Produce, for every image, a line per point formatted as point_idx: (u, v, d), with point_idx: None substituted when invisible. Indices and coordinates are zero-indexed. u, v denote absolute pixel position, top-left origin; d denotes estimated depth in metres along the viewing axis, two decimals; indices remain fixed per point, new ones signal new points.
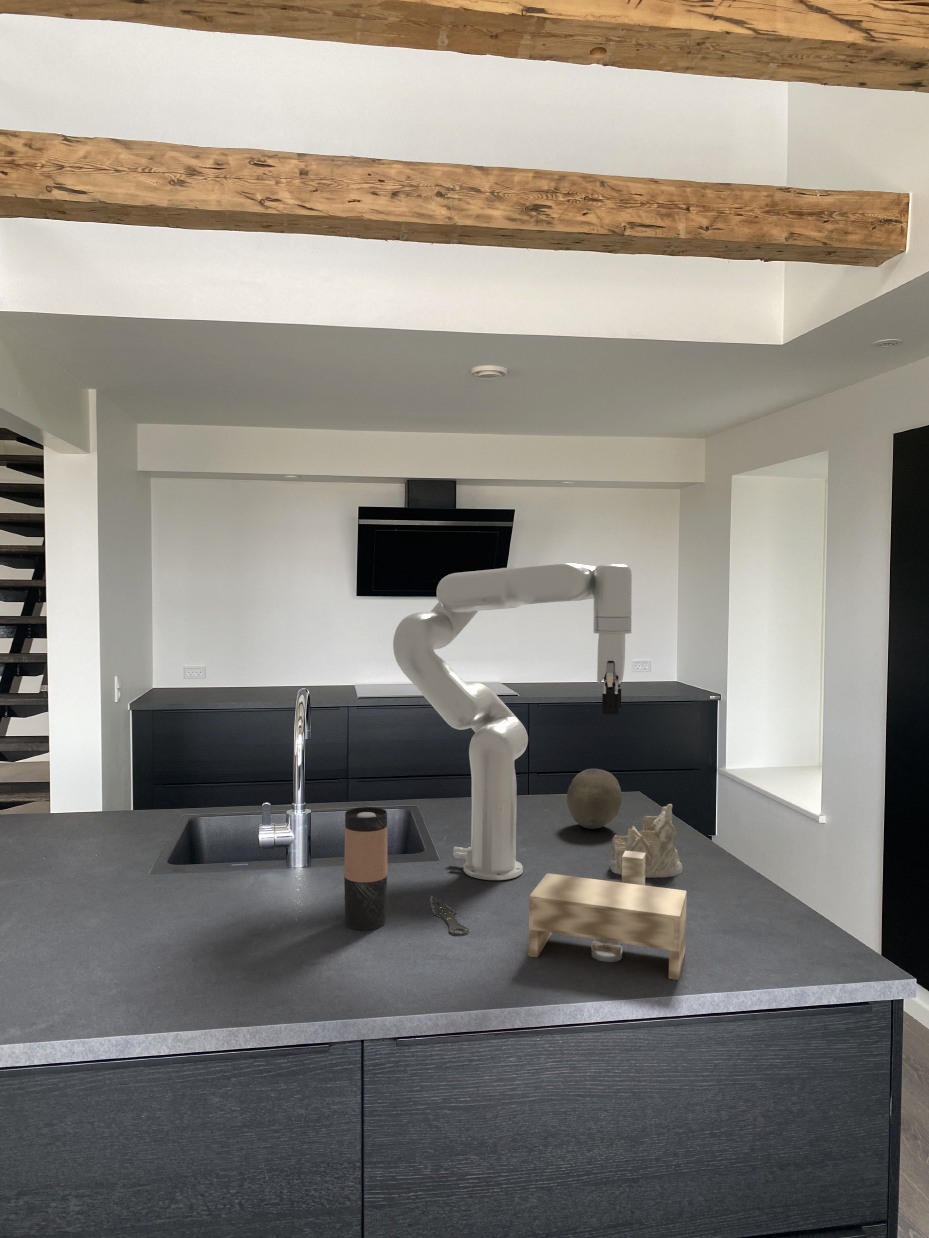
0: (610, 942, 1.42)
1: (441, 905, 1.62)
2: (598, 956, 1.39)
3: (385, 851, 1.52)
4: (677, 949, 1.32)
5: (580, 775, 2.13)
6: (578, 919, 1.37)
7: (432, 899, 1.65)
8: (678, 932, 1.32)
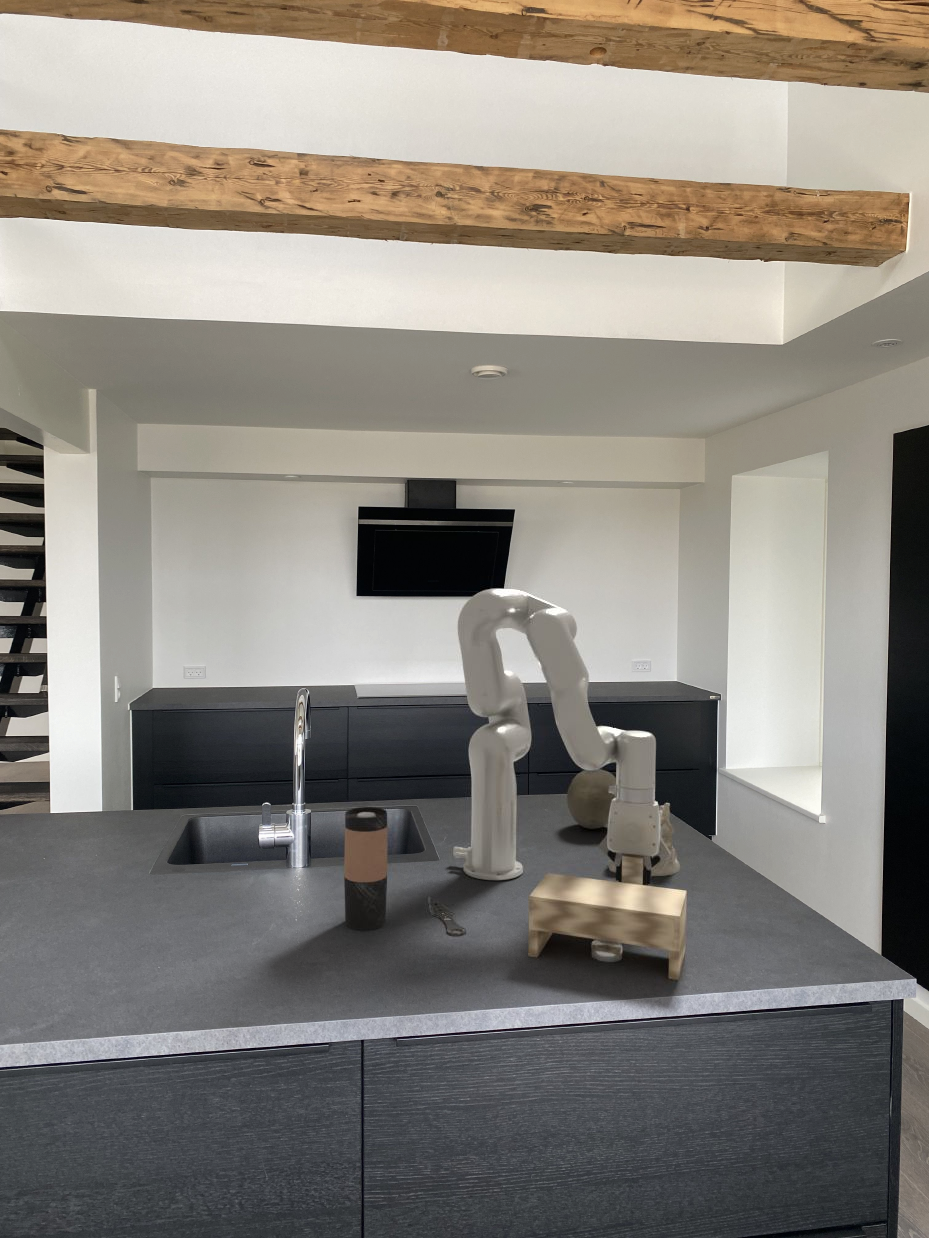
0: (610, 942, 1.42)
1: (439, 905, 1.62)
2: (598, 956, 1.39)
3: (385, 851, 1.52)
4: (677, 949, 1.32)
5: (580, 775, 2.13)
6: (578, 919, 1.37)
7: (430, 899, 1.65)
8: (678, 932, 1.32)
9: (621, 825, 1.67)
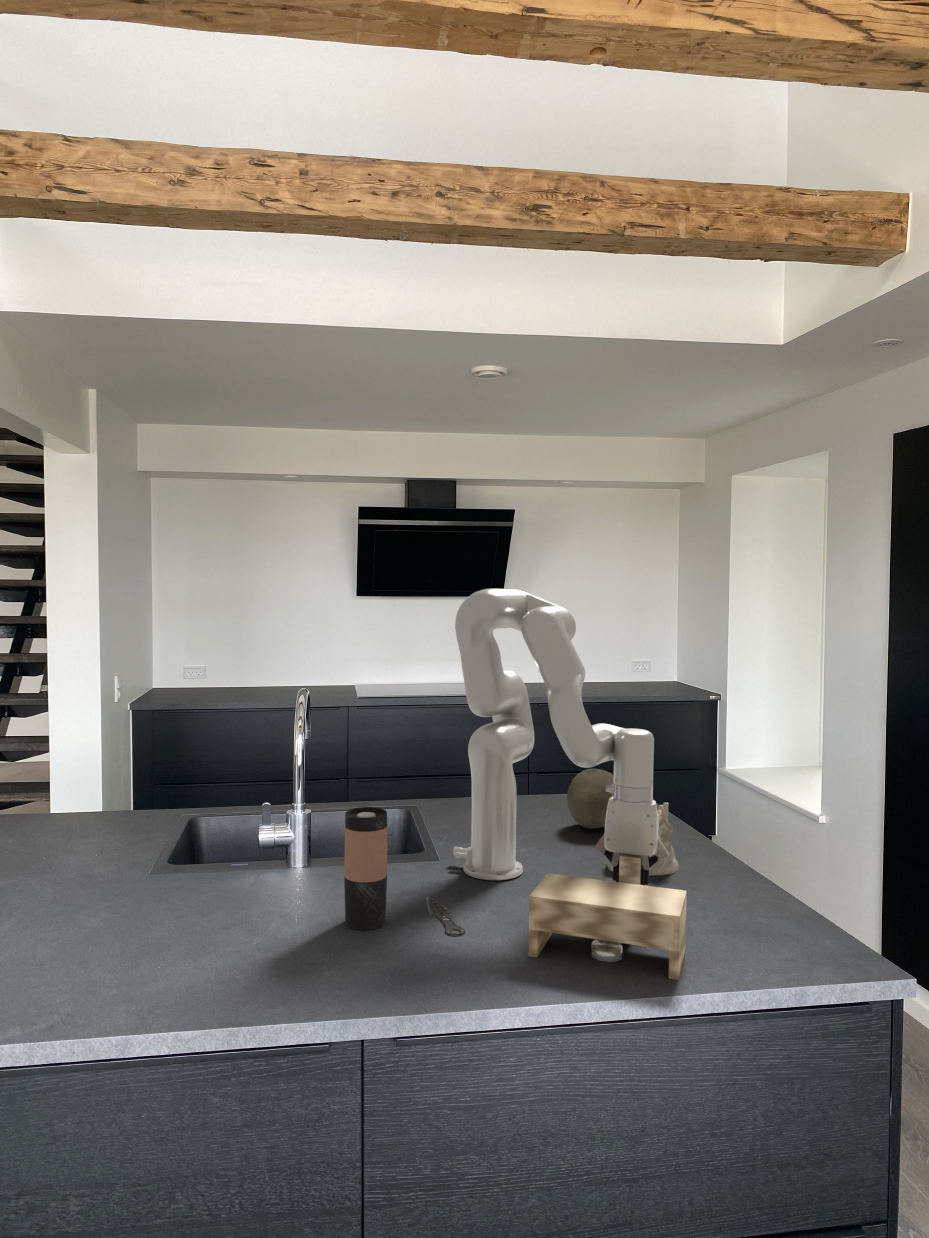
0: (610, 942, 1.42)
1: (437, 906, 1.62)
2: (598, 956, 1.39)
3: (385, 851, 1.52)
4: (677, 949, 1.32)
5: (580, 775, 2.13)
6: (578, 919, 1.37)
7: (428, 900, 1.65)
8: (678, 932, 1.32)
9: (618, 824, 1.64)
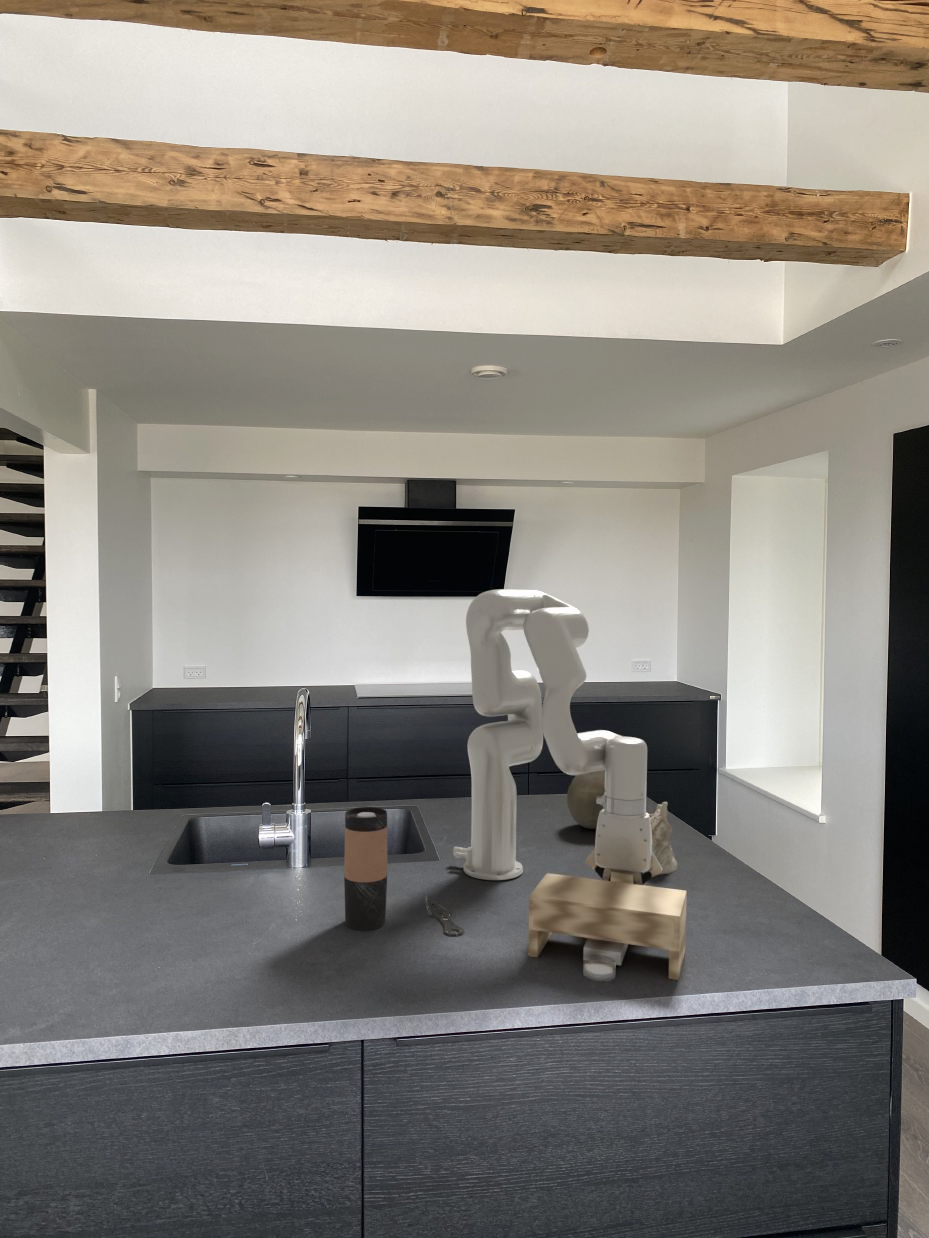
0: (603, 959, 1.35)
1: (436, 906, 1.62)
2: (590, 974, 1.32)
3: (385, 851, 1.52)
4: (677, 949, 1.32)
5: (580, 775, 2.13)
6: (578, 919, 1.37)
7: (427, 900, 1.65)
8: (678, 932, 1.32)
9: (610, 839, 1.55)
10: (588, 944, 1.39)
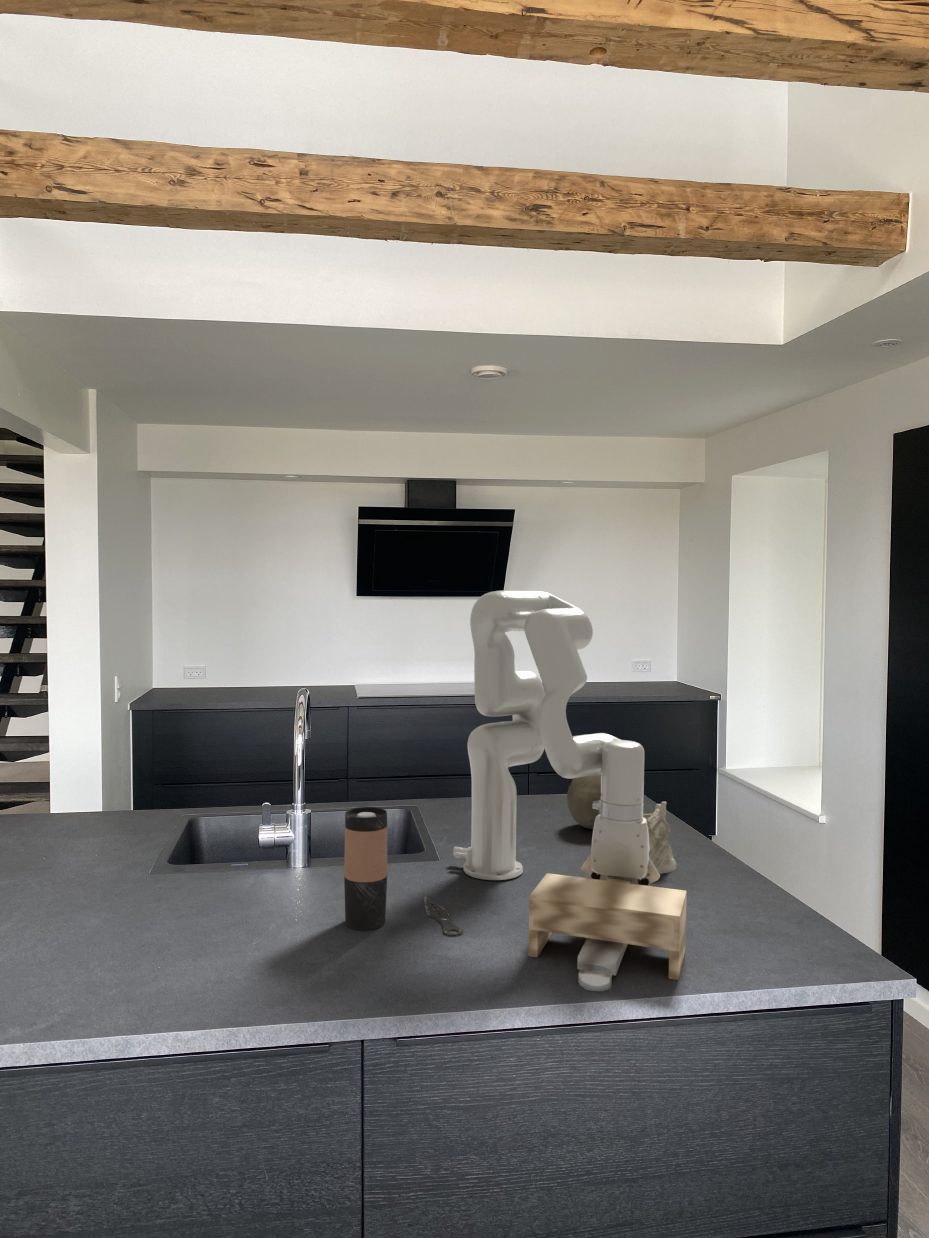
0: (598, 969, 1.32)
1: (435, 906, 1.61)
2: (586, 985, 1.29)
3: (385, 851, 1.52)
4: (677, 949, 1.32)
5: None
6: (578, 919, 1.37)
7: (426, 900, 1.64)
8: (678, 932, 1.32)
9: (606, 844, 1.52)
10: (582, 953, 1.35)
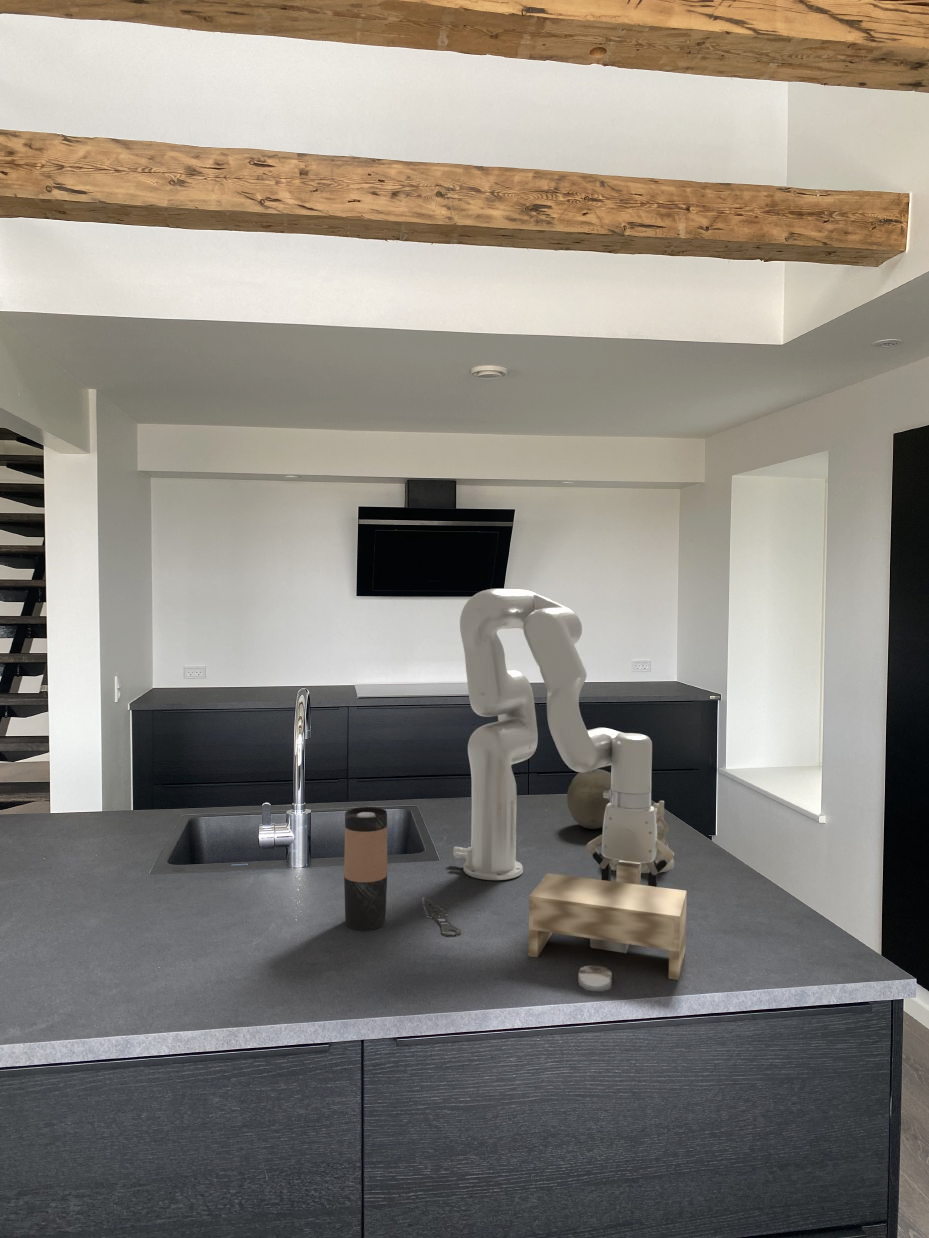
0: (598, 969, 1.32)
1: (433, 906, 1.61)
2: (586, 985, 1.29)
3: (385, 851, 1.52)
4: (677, 949, 1.32)
5: (580, 775, 2.13)
6: (578, 919, 1.37)
7: (424, 900, 1.64)
8: (678, 932, 1.32)
9: (616, 831, 1.61)
10: None
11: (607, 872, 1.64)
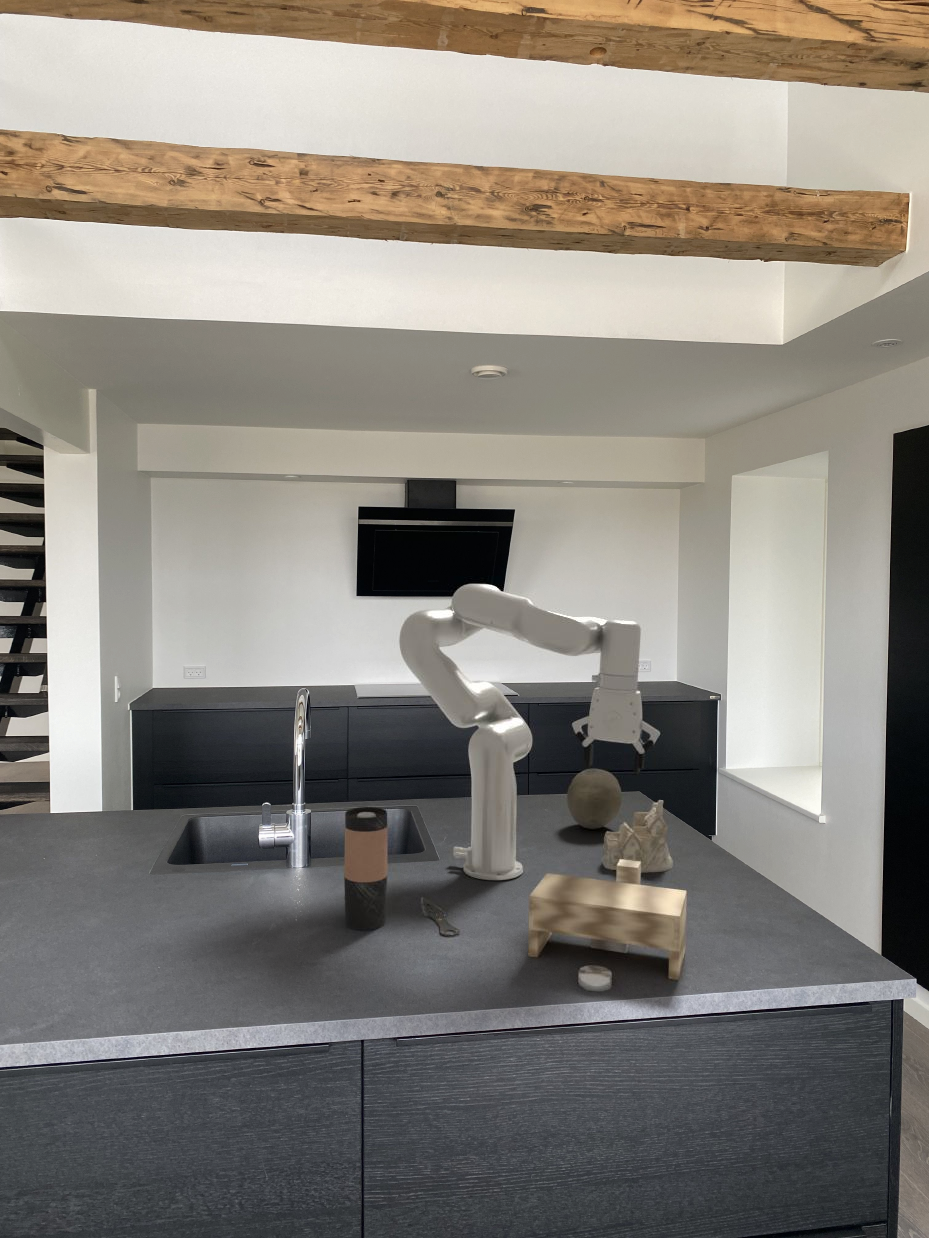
0: (598, 969, 1.32)
1: (432, 906, 1.61)
2: (586, 985, 1.29)
3: (385, 851, 1.52)
4: (677, 949, 1.32)
5: (580, 775, 2.13)
6: (578, 919, 1.37)
7: (422, 900, 1.64)
8: (678, 932, 1.32)
9: (602, 712, 1.67)
10: None
11: (589, 750, 1.70)
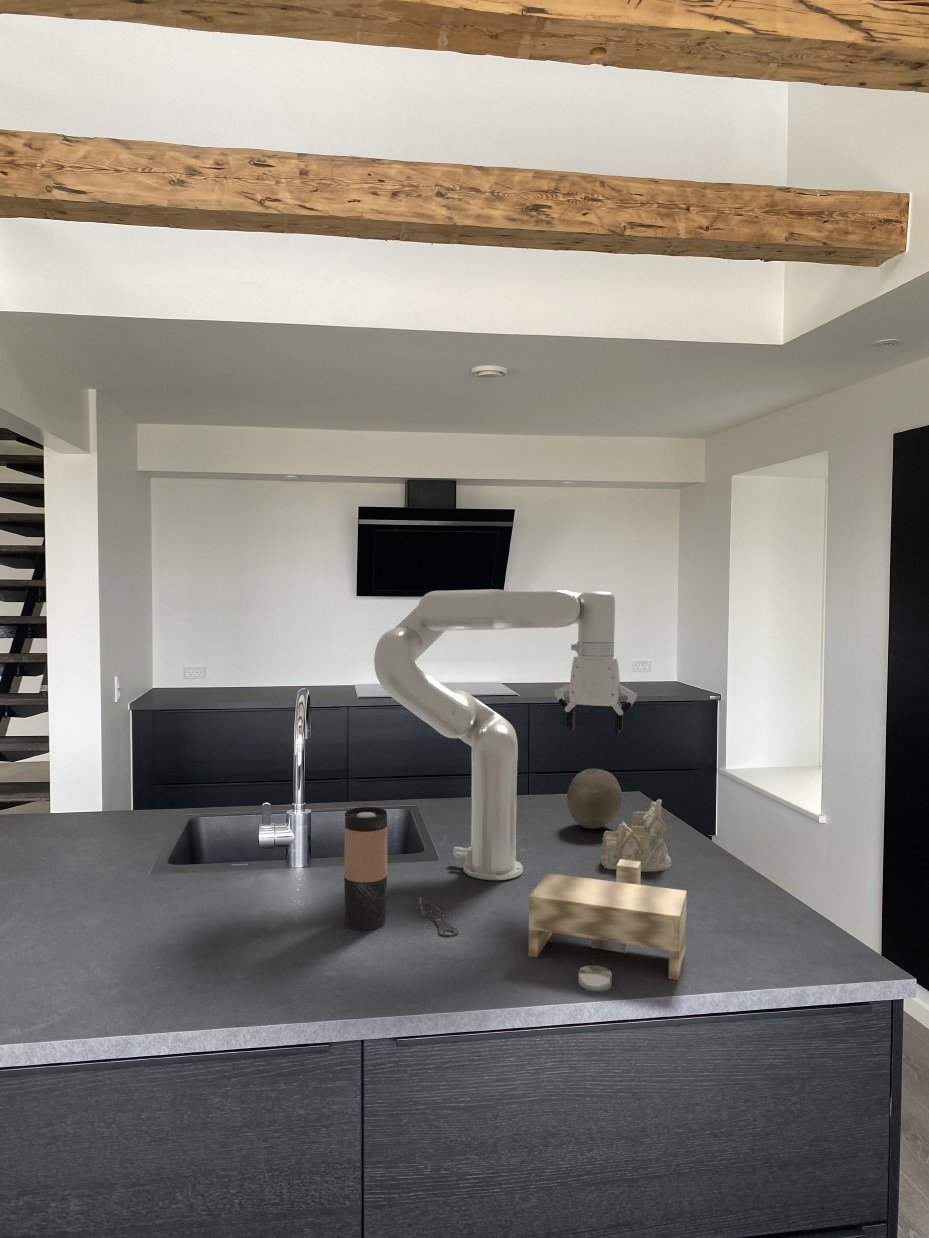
0: (598, 969, 1.32)
1: (430, 906, 1.61)
2: (586, 985, 1.29)
3: (385, 851, 1.52)
4: (677, 949, 1.32)
5: (580, 775, 2.13)
6: (578, 919, 1.37)
7: (421, 900, 1.64)
8: (678, 932, 1.32)
9: (582, 678, 1.78)
10: None
11: (571, 715, 1.80)
